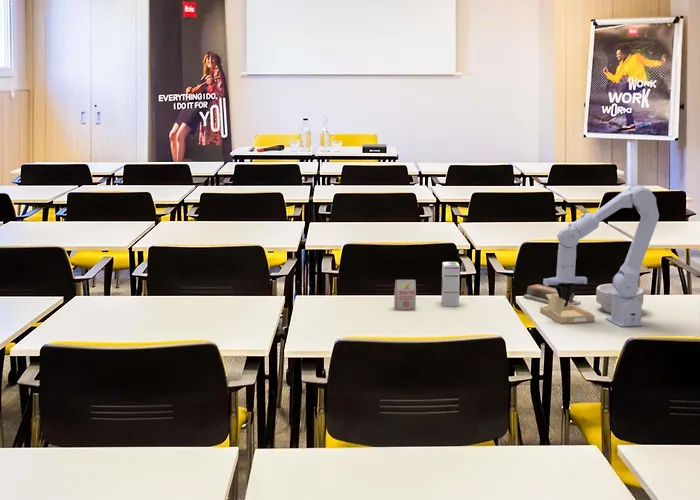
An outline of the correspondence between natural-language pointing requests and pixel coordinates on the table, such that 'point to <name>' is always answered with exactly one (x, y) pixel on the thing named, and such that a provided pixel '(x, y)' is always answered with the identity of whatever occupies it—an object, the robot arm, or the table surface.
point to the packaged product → (544, 294)
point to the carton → (569, 315)
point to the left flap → (556, 304)
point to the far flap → (550, 296)
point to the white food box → (405, 295)
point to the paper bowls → (606, 296)
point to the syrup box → (450, 283)
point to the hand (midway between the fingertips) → (563, 305)
